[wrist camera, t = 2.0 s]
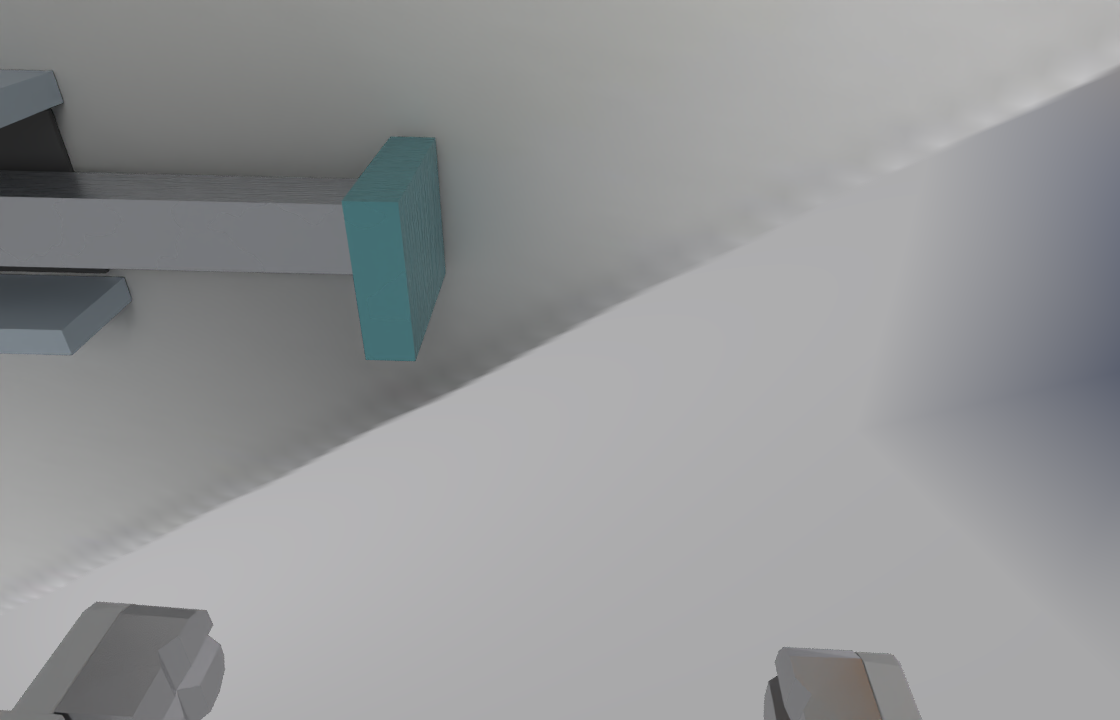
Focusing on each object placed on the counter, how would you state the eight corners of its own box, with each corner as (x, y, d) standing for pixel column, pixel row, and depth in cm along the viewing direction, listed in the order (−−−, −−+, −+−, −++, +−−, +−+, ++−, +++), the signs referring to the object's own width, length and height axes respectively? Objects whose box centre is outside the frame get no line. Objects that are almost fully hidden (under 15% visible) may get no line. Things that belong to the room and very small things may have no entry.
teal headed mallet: (-77, 260, 27) (-227, 345, 22) (-146, 124, 24) (-335, 185, 19) (445, 273, 27) (415, 360, 22) (435, 137, 24) (397, 202, 19)
